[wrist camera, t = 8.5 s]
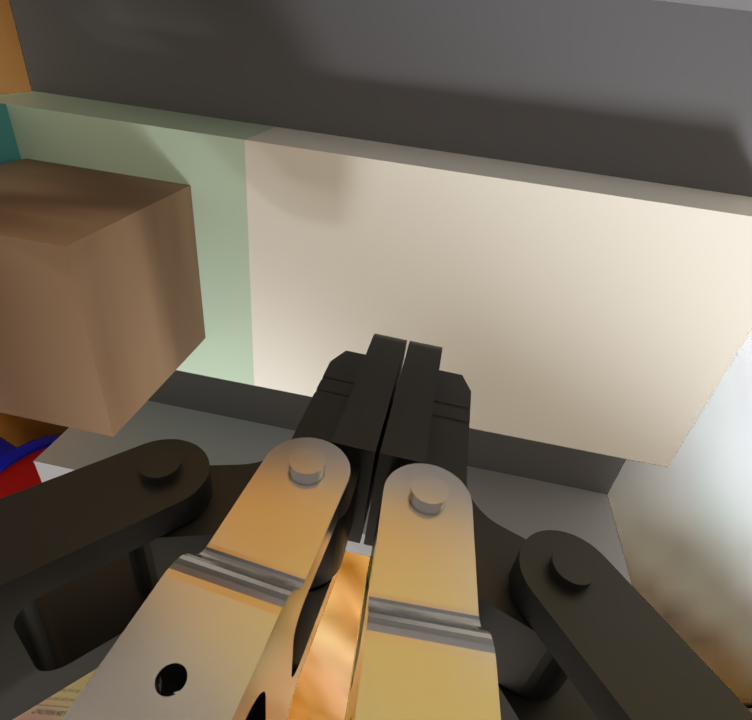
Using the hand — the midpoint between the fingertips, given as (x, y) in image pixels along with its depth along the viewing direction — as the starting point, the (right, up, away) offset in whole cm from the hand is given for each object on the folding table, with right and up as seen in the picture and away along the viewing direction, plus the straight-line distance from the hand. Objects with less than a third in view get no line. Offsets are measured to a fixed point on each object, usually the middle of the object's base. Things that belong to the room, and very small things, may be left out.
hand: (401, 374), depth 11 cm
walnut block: (-8, +4, +4) cm, 10 cm away
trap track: (-1, +4, +6) cm, 7 cm away
